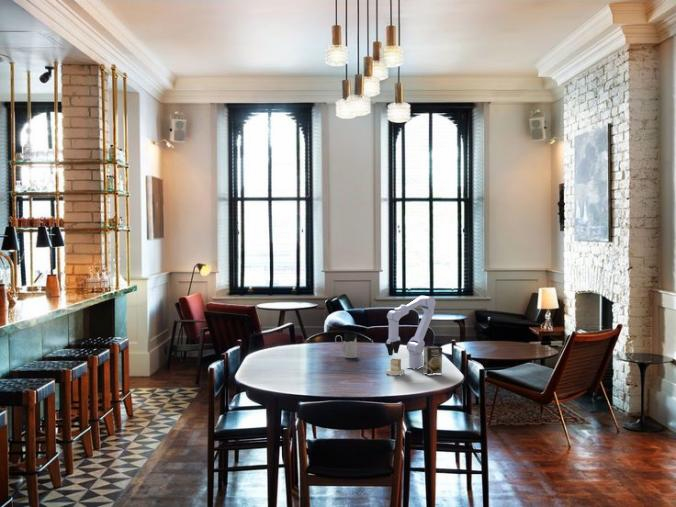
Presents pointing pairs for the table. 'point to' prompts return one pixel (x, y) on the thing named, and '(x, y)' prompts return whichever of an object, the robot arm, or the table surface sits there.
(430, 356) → the coffee box
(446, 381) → the table surface
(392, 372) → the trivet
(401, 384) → the table surface
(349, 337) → the glass holder
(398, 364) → the block
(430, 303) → the robot arm
